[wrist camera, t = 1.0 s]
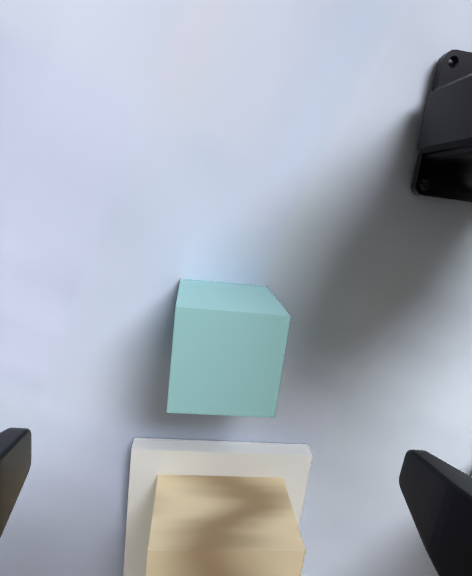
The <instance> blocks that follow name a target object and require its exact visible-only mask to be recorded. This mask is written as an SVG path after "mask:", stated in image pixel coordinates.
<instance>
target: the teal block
mask: <svg viewBox="0 0 472 576" xmlns="http://www.w3.org/2000/svg"><path fill="white" fill-rule="evenodd" d="M290 319H291V316H290V314H289V313H288V312H287V311H286V309H285V308H284V307H283V306H282V304H281V303H280V302H279V301H278V299H277V298H276V297H275V296H274V294H273V293H272V292H271V291H270V289H269V288H268V287H267V286H256V285H245V284H234V283H224V282H213V281H202V280H191V279H181V278H180V283H179V289H178V295H177V301H176V308H175V320H174V331H173V343H172V355H171V366H170V378H169V390H168V401H167V413H183V414H206V415H228V416H251V417H273V418H275V412H276V406H277V400H278V394H279V387H280V381H281V375H282V369H283V362H284V356H285V350H286V344H287V337H288V331H289V325H290Z"/></svg>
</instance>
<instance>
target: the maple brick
mask: <svg viewBox="0 0 472 576" xmlns="http://www.w3.org/2000/svg"><path fill="white" fill-rule="evenodd" d="M305 551H306V550H305V547H304V544H303V540H302V537H301V534H300V531H299V528H298V524H297V521H296V518H295V515H294V512H293V508H292V505H291V502H290V499H289V495H288V492H287V489H286V486H285V483H284V479H283V478H277V477H239V476H200V475H162V474H158V478H157V485H156V493H155V500H154V508H153V515H152V523H151V530H150V538H149V545H148V554H147V566H146V576H301V571H302V566H303V561H304V556H305Z"/></svg>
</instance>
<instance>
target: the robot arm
mask: <svg viewBox="0 0 472 576" xmlns="http://www.w3.org/2000/svg"><path fill="white" fill-rule="evenodd" d="M449 59H451V60H452V62H453V67H452V68H451V67H450V66H449V64H448V61H449ZM417 149H418V151H419V152H418V156H417V161H416V165H415V170H414V174H413V179H412V183H411V189H412V192H413V193H414V194H416V195H418V196H426V197H433V198H440V199H448V200H455V201H463V202H470V203H472V53H471V52H465V51H460V50H451V51H449V52H448V53H446V54H444V55H443V56H442V57H441V58H440V59H439V62H438V66H437V70H436V75H435V79H434V84H433V88H432V92H431V93H430V94H429V95H428V99H427V104H426V109H425V113H424V118H423V122H422V127H421V131H420V136H419V140H418V145H417ZM422 181H424V182H425V188H424V189H423V190H422V189H421V187H420V184H421V182H422ZM30 465H31V431H30V430H29V429H27V428H9V429H6V430H5V431H3V432H1V433H0V537H1V535H2V533H3V530H4V528H5V526H6V523H7V521H8V519H9V516H10V514H11V512H12V510H13V507H14V505H15V503H16V500H17V498H18V496H19V493H20V491H21V489H22V486H23V484H24V482H25V479H26V477H27V475H28V472H29V469H30ZM399 484H400V488H401V491H402V493H403V496H404V498H405V500H406V503H407V505H408V508H409V510H410V513H411V515H412V517H413V520H414V522H415V525H416V527H417V530H418V532H419V535H420V537H421V539H422V542H423V544H424V546H425V549H426V551H427V553H428V555H429V557H430V559H431V561H432V563H433V565H434V567H435V569H436V571H437V573H438V575H439V576H472V477H470V476H468V475H467V474H465V473H463V472H461V471H460V470H458V469H456V468H454V467H453V466H451V465H449V464H447V463H446V462H444V461H442V460H441V459H439V458H437V457H435V456H434V455H432V454H430V453H428V452H426V451H424V450H409V451H407V453H406V455H405V458H404V462H403V465H402V469H401V472H400V476H399Z"/></svg>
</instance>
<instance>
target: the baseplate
mask: <svg viewBox="0 0 472 576" xmlns="http://www.w3.org/2000/svg"><path fill="white" fill-rule="evenodd" d="M312 457H313V455H312V453H311V451H310V449H309V446H308V444H287V443H261V442H235V441H209V440H183V439H157V438H134V441H133V445H132V449H131V461H130V477H129V492H128V508H127V523H126V539H125V554H124V570H123V576H146V566H147V554H148V545H149V538H150V530H151V523H152V515H153V508H154V500H155V493H156V485H157V478H158V474H162V475H200V476H239V477H277V478H283V479H284V483H285V486H286V489H287V492H288V495H289V499H290V502H291V505H292V508H293V512H294V515H295V518H296V521H297V524H298V528H299V524H300V519H301V514H302V509H303V503H304V498H305V493H306V488H307V483H308V478H309V472H310V467H311V462H312Z"/></svg>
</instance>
